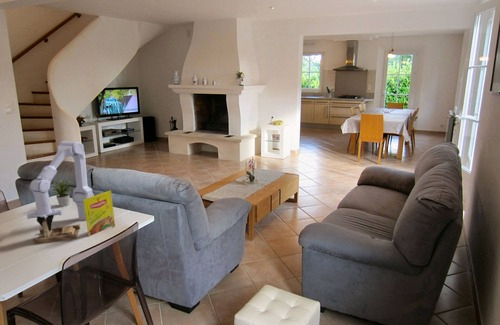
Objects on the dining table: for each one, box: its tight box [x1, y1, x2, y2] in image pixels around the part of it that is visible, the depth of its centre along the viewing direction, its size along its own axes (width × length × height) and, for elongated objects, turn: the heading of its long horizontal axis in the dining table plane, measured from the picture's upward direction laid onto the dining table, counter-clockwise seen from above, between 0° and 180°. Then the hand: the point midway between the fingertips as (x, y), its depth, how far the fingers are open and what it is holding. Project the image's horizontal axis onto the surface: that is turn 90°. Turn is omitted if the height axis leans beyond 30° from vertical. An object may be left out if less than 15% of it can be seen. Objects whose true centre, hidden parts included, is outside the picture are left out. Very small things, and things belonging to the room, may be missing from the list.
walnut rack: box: [32, 224, 81, 245], centre depth 172 cm, size 18×12×3 cm, turn 106°
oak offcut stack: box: [61, 225, 75, 236], centre depth 173 cm, size 5×8×2 cm, turn 16°
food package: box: [83, 189, 116, 237], centre depth 175 cm, size 15×1×20 cm, turn 149°
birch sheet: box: [42, 216, 52, 238], centre depth 169 cm, size 2×7×8 cm, turn 17°
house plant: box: [52, 179, 75, 208], centre depth 210 cm, size 14×14×16 cm
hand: (47, 230), depth 170 cm, fingers closed on birch sheet, 1 cm apart
